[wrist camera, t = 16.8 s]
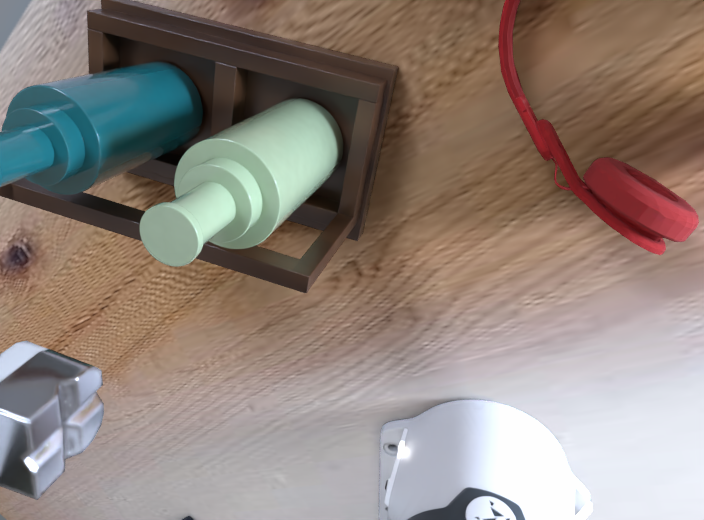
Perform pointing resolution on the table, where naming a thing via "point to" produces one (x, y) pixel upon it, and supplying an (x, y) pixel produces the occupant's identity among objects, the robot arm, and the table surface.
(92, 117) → the teal bottle
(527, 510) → the robot arm
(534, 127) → the headphones
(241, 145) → the sage bottle
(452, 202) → the table surface
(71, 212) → the rack
